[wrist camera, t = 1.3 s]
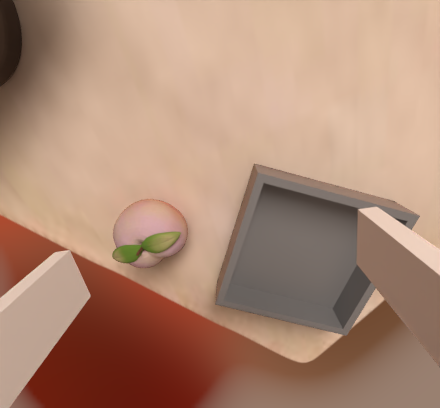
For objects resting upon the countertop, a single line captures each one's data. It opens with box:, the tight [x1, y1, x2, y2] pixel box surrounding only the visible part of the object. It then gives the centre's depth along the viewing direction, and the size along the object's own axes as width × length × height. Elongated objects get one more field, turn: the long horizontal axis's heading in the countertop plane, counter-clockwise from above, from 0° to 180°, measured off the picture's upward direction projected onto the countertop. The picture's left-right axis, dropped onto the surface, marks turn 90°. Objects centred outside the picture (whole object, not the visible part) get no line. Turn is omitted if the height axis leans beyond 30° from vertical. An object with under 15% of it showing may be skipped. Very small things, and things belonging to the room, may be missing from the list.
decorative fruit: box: [112, 199, 188, 268], centre depth 32 cm, size 9×8×10 cm
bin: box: [215, 164, 420, 335], centre depth 35 cm, size 20×20×5 cm
